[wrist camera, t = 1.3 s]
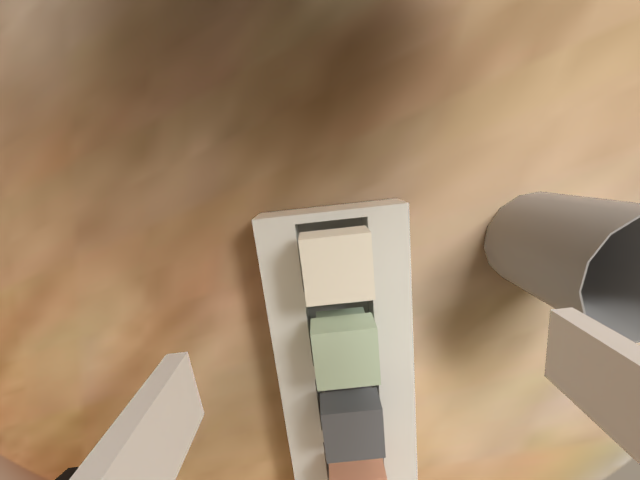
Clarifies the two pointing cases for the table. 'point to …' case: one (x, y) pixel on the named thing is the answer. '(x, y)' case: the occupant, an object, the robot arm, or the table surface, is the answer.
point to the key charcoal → (352, 424)
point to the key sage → (345, 349)
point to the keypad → (295, 317)
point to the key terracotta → (358, 470)
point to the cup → (572, 254)
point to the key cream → (337, 265)
